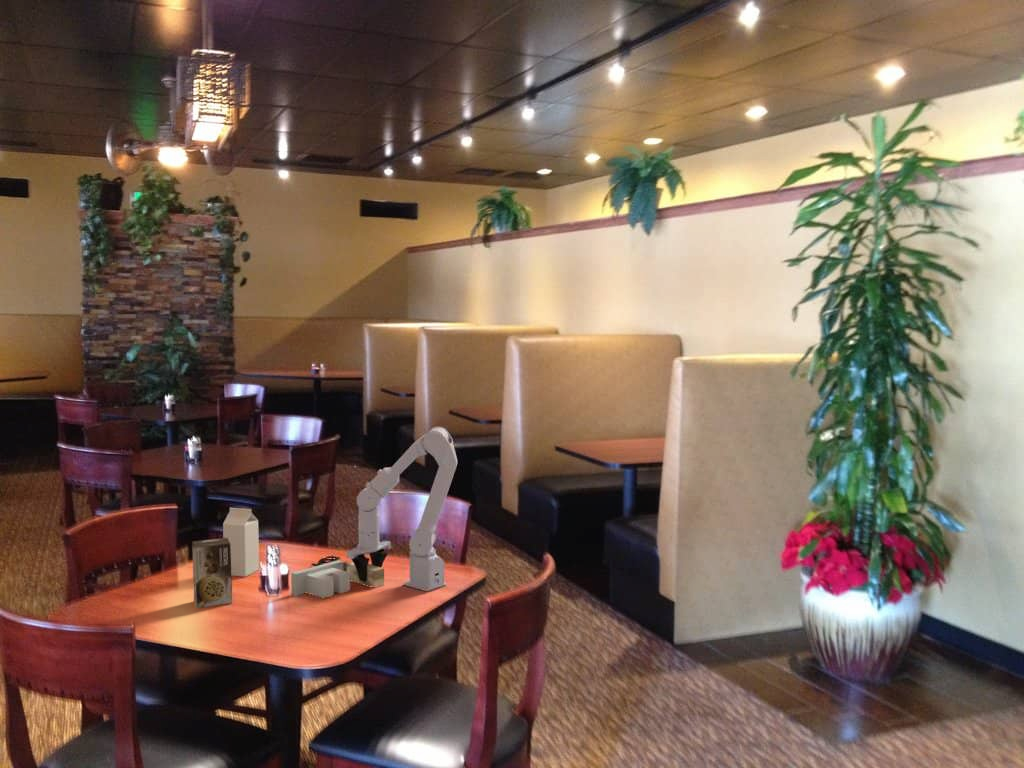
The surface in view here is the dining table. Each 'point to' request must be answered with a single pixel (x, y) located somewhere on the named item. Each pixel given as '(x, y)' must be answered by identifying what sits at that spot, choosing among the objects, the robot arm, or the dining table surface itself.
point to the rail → (373, 574)
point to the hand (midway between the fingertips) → (369, 578)
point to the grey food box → (212, 572)
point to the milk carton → (242, 541)
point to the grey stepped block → (321, 580)
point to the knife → (326, 559)
